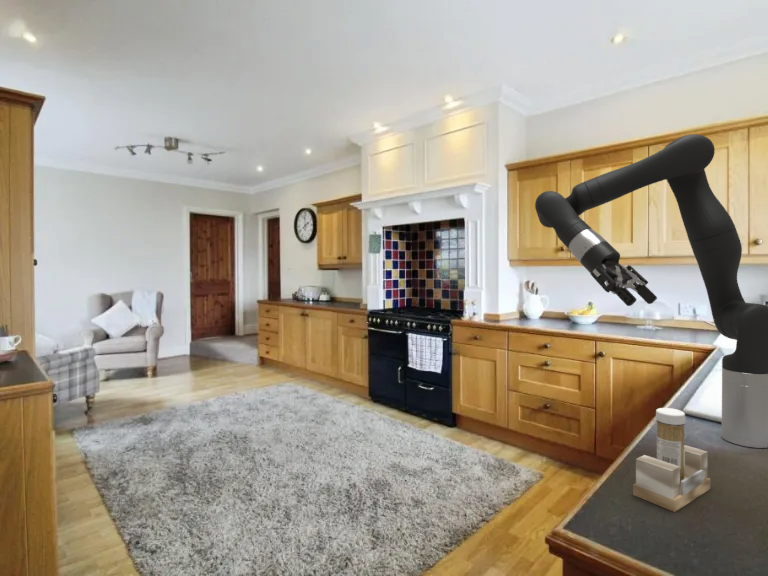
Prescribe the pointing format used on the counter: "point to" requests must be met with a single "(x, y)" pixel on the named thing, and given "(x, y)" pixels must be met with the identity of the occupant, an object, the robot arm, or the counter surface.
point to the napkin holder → (672, 479)
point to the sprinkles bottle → (671, 437)
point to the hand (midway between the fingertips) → (643, 302)
